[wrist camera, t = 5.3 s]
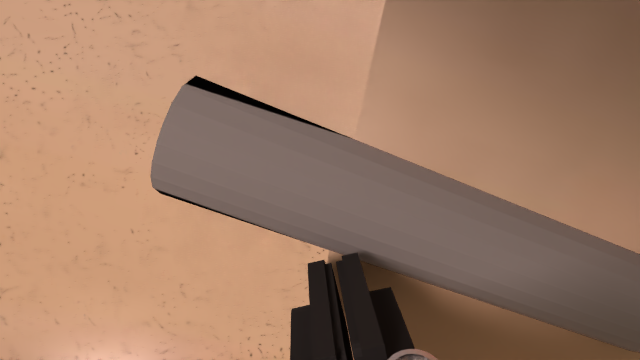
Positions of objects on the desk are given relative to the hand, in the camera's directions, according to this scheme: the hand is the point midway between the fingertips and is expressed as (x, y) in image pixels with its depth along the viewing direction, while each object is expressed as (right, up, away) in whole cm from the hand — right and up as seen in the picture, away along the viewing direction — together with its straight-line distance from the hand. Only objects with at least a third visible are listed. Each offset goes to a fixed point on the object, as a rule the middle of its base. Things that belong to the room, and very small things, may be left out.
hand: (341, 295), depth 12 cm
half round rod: (+4, +2, +1) cm, 5 cm away
